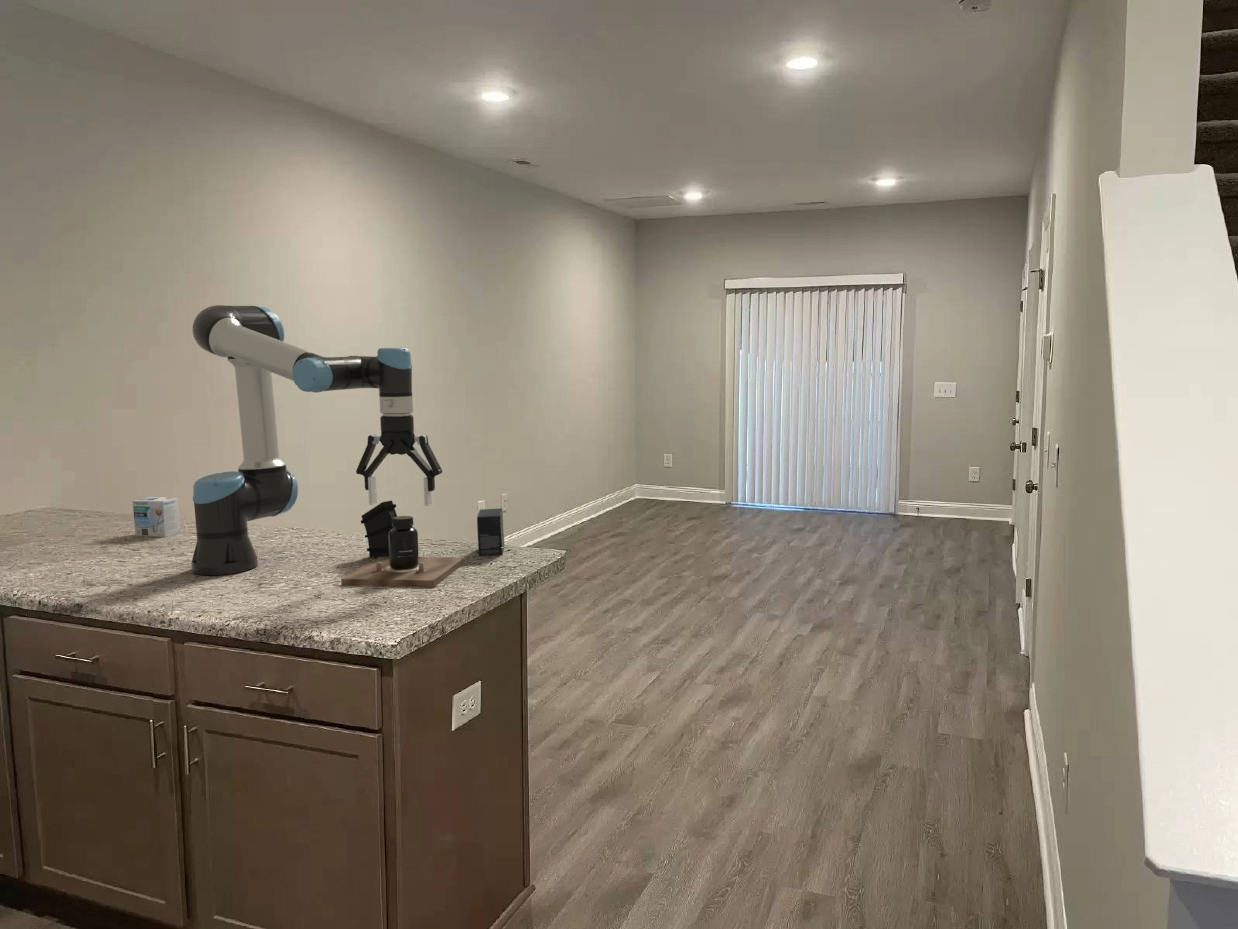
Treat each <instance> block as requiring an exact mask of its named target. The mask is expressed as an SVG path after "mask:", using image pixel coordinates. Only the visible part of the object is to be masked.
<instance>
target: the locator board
mask: <svg viewBox="0 0 1238 929" xmlns="http://www.w3.org/2000/svg"><path fill="white" fill-rule="evenodd" d="M464 564H465V558H464V557H449V556H448V557H446V556H445V557H441V556H440V557H439V556H438V557H434V556H419V565H418V566H417V567H416V568H413V569H408V570H396V569H392V568H391V567H390V563H389V557H378V558H374V559H373V560H371V561H370V562H368V563H366V564H365V565H363V566H361V567H359V568H357V569H355V570H354V571H352V572H351V573H348V574H347V575H345V576H344V577H342V578H341V579H340V581H341V584H340V585H341V586H351V587H353V586H355V587H356V586H357V587H360V586H362V587H413V588H415V587H416V588H417V587H418V588H419V587H420V588H421V587H422V588H435V587H436V586H437V585H439V584H441V582H443V581H444V580H445V579H446V578H447V577H449V576H450V575H452V574H453V573H454V572H455V571H456V570H458V569H460V567H462V566H463V565H464Z"/></svg>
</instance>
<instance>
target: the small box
mask: <svg viewBox="0 0 1238 929" xmlns="http://www.w3.org/2000/svg"><path fill="white" fill-rule="evenodd" d="M503 515H504V513H503V508H502V507H501V508H487V509H486V508H485V509H479V511H478V514H477V516H476V528H477V529H476V530H477V545H478V547H477V548H478V556H479V557H484V556H486V557H487V556H489V557H490V556H503V555H504V552H505V551H504V550H505V535H504V516H503ZM501 547H504V548H501Z"/></svg>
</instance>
